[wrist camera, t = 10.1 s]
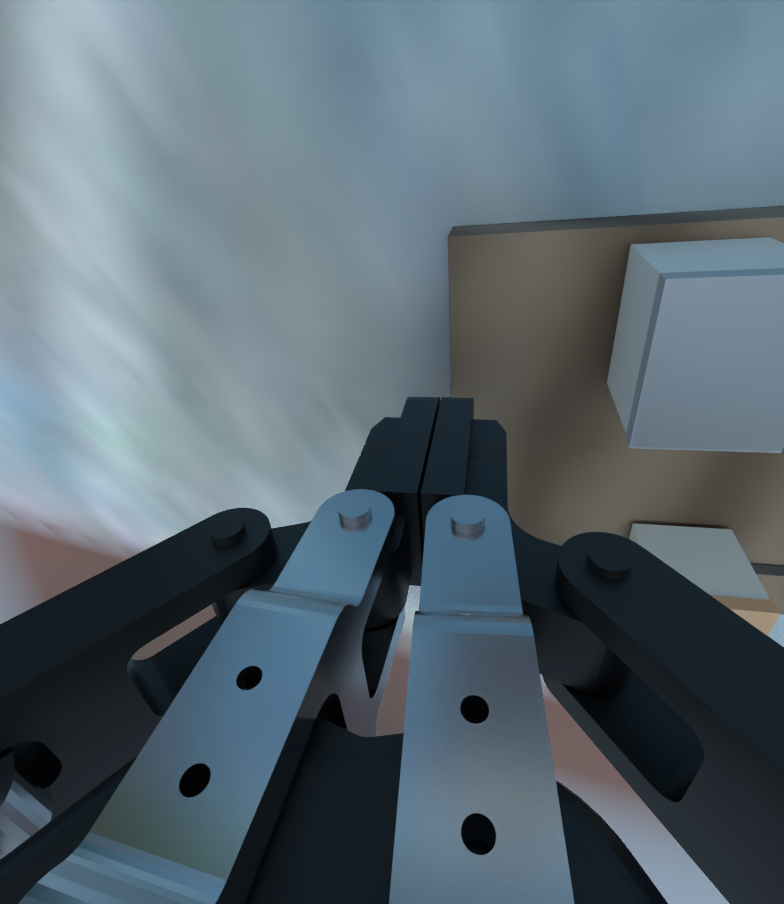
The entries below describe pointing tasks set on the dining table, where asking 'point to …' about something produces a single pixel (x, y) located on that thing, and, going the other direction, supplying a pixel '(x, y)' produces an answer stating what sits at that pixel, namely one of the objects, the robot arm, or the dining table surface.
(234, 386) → the dining table surface
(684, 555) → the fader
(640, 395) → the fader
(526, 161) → the dining table surface
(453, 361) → the fader board
